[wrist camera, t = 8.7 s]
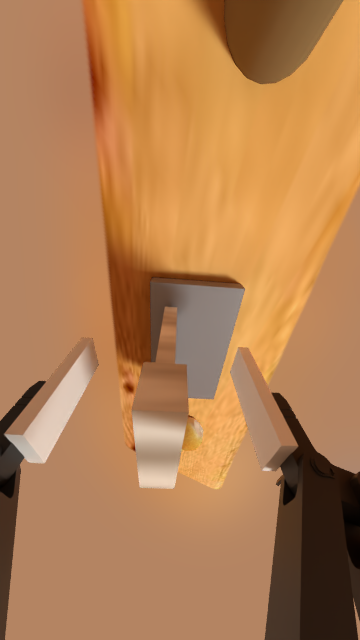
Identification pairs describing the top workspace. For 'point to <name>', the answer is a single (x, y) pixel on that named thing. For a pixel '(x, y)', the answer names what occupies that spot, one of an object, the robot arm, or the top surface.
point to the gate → (161, 411)
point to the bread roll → (192, 435)
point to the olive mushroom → (274, 34)
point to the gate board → (197, 326)
